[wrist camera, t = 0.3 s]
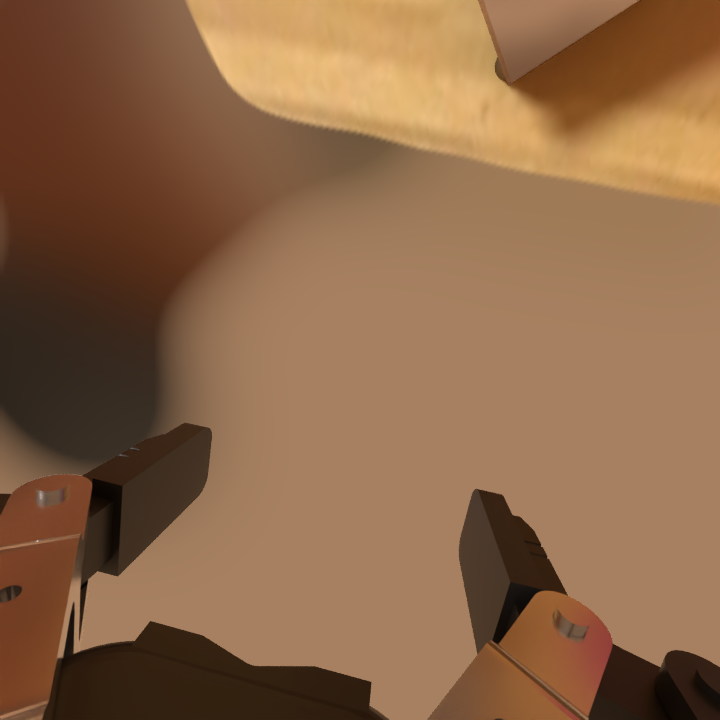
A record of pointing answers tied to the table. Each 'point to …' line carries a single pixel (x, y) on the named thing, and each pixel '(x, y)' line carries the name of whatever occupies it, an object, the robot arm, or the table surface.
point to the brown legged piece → (541, 29)
